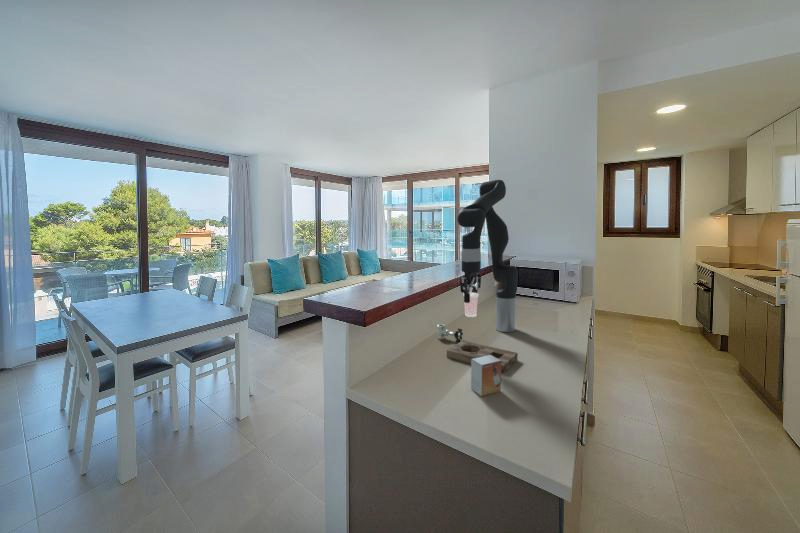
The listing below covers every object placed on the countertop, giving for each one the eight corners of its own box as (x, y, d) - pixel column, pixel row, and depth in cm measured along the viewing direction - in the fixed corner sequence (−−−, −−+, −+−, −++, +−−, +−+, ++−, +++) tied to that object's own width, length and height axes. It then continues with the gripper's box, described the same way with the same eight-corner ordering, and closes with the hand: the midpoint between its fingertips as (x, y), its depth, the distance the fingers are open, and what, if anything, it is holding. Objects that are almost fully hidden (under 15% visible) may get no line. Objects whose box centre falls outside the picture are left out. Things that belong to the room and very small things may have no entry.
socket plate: (463, 346, 142) (463, 340, 141) (517, 360, 126) (517, 353, 126) (446, 356, 131) (446, 349, 130) (503, 373, 116) (503, 365, 115)
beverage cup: (465, 312, 134) (465, 279, 132) (480, 314, 131) (480, 280, 129) (461, 316, 128) (461, 282, 127) (476, 318, 126) (476, 283, 124)
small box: (481, 397, 100) (481, 365, 99) (470, 388, 105) (470, 358, 104) (501, 391, 103) (501, 360, 102) (489, 383, 108) (490, 354, 107)
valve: (433, 339, 151) (456, 344, 144) (433, 326, 151) (456, 330, 144) (440, 335, 157) (463, 340, 150) (440, 322, 156) (463, 326, 149)
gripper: (470, 257, 135) (470, 296, 137) (453, 261, 124) (453, 303, 126) (487, 258, 130) (487, 298, 132) (471, 262, 119) (471, 306, 121)
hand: (470, 300), depth 129 cm, fingers closed on beverage cup, 6 cm apart
